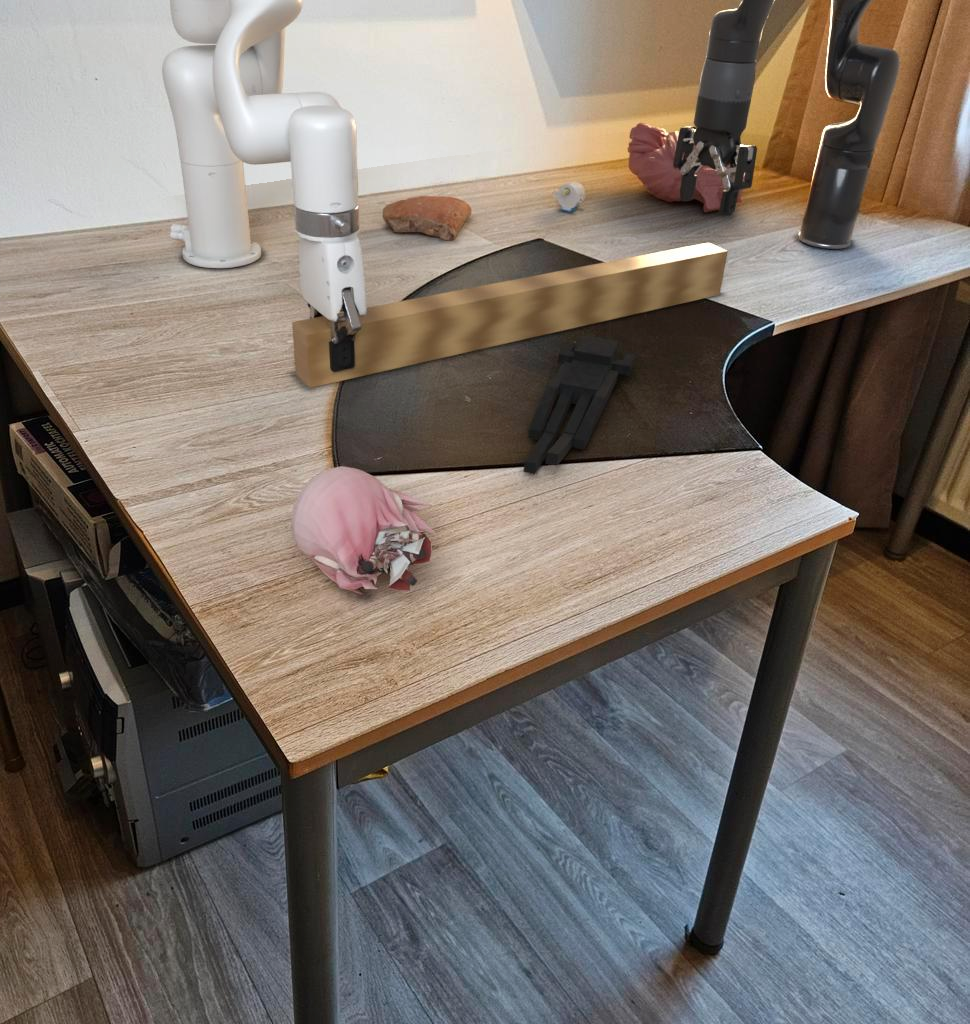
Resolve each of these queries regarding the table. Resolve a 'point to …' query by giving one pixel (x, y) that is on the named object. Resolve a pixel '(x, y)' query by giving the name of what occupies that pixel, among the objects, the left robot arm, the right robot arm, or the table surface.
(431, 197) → the ceramic shard
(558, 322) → the bar
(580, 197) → the electric motor
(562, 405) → the toy
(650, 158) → the fabric sculpture
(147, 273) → the table surface
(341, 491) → the pink rounded lump
